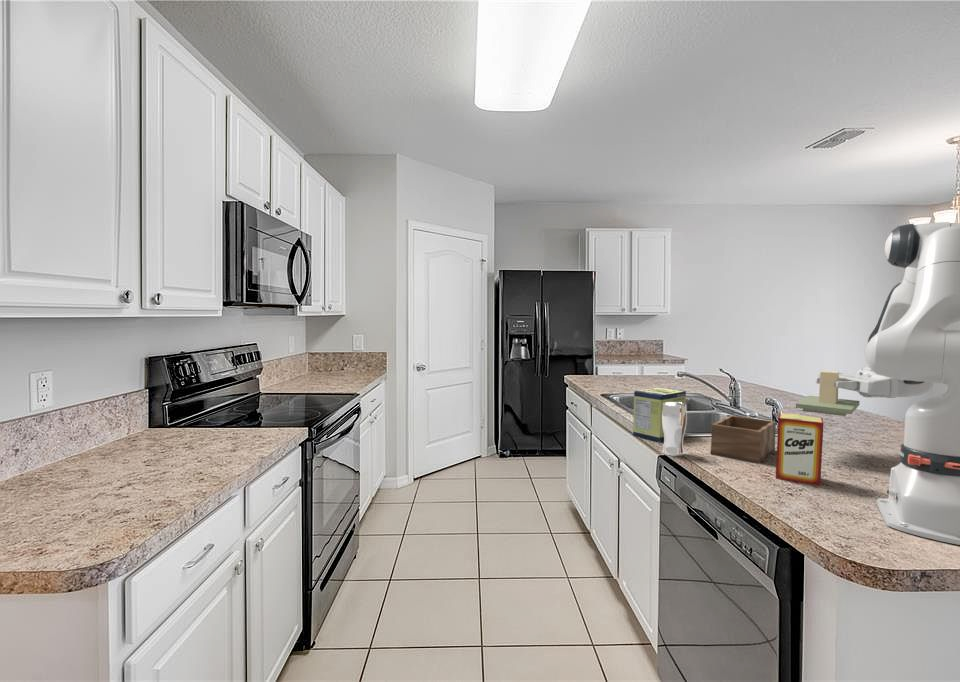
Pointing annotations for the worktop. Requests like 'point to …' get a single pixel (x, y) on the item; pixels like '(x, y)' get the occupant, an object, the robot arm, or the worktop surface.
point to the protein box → (652, 411)
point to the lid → (828, 398)
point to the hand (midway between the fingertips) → (826, 382)
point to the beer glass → (674, 427)
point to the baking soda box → (799, 448)
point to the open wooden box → (743, 438)
